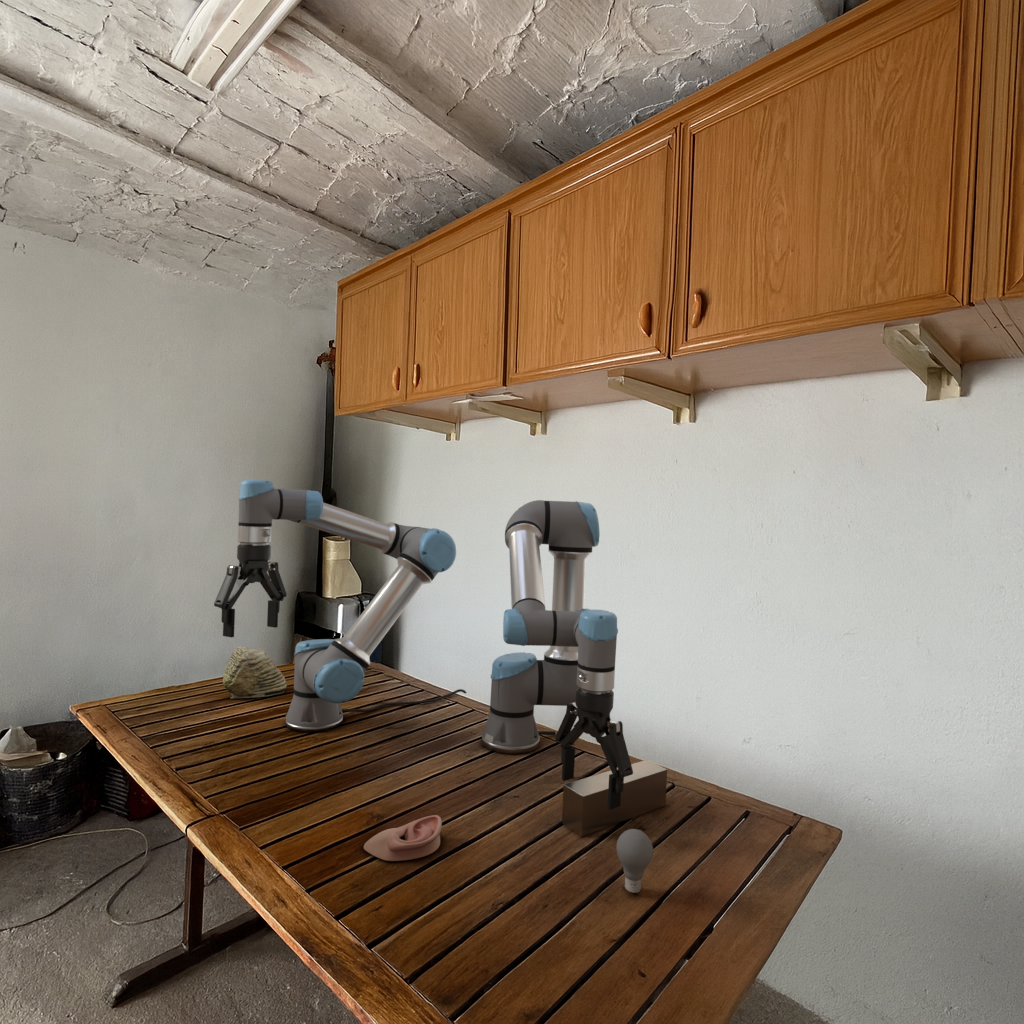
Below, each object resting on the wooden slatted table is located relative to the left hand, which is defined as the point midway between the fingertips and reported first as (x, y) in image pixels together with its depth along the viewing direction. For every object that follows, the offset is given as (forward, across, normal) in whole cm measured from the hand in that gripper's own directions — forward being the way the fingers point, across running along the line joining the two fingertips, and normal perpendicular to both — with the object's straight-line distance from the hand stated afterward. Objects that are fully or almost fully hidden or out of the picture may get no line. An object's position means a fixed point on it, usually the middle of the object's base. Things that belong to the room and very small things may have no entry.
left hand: (251, 631), depth 153 cm
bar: (+30, +15, -88) cm, 94 cm away
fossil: (+30, +34, +33) cm, 56 cm away
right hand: (+24, +8, -84) cm, 87 cm away
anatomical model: (+30, -16, -56) cm, 65 cm away
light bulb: (+30, -10, -97) cm, 102 cm away
